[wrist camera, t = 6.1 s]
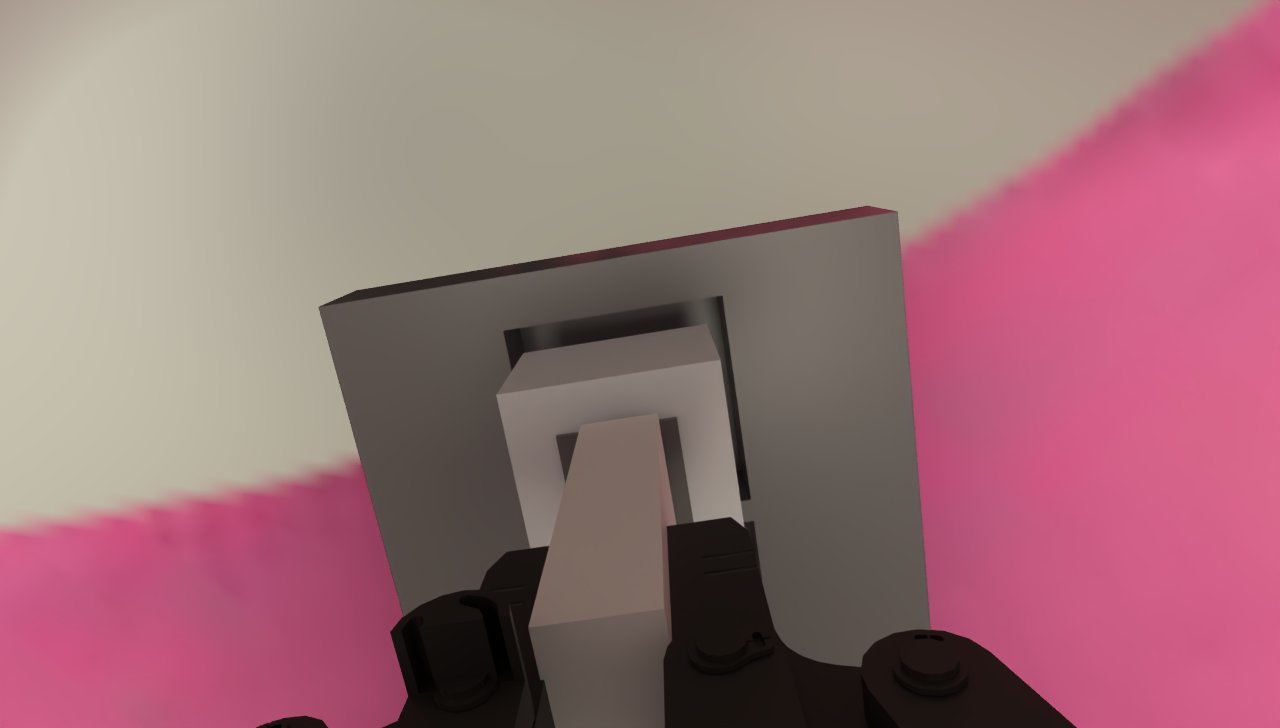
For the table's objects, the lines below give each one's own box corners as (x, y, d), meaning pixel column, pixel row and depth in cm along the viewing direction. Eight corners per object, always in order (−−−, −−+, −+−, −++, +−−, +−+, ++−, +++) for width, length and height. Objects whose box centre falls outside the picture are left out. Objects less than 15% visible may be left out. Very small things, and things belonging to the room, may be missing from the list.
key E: (558, 520, 19) (539, 596, 16) (523, 353, 18) (495, 396, 15) (731, 494, 19) (750, 566, 16) (706, 323, 18) (720, 360, 15)
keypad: (540, 1000, 27) (531, 1080, 25) (356, 290, 21) (318, 307, 19) (933, 954, 27) (962, 1032, 24) (867, 205, 20) (897, 211, 18)
